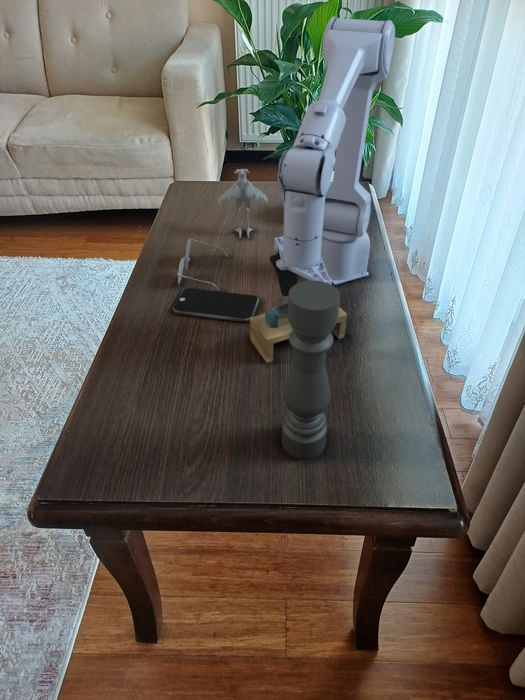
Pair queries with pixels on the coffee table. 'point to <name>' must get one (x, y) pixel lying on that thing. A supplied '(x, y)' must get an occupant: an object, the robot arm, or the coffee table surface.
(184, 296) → the smartphone
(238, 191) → the figurine
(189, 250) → the sunglasses
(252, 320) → the shelf
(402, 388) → the coffee table surface
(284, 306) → the grey and teal bar
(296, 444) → the candle holder
